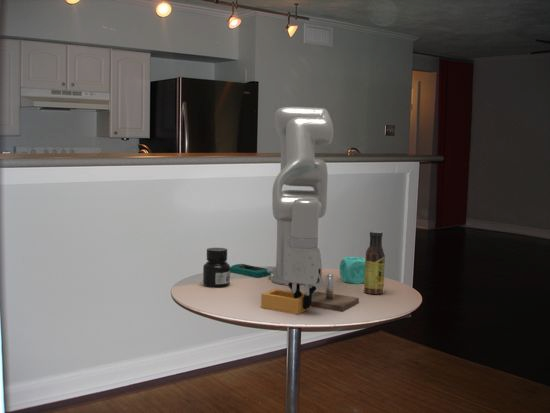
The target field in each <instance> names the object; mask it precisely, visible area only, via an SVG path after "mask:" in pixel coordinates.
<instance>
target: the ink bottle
mask: <svg viewBox="0 0 550 413" xmlns="http://www.w3.org/2000/svg"><path fill="white" fill-rule="evenodd" d="M206 260H207V261H206V263H204V265H203V268H202V269H203V270H202V285H203V286H205V287H209V288H225V287H227V286H229V285H230V284H231V272H230V267H231V266H230V264H229V263H228V248H224V247H208V248H207V249H206Z"/></svg>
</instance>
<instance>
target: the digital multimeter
mask: <svg viewBox="0 0 550 413" xmlns="http://www.w3.org/2000/svg"><path fill="white" fill-rule="evenodd" d="M267 268H268V267H260V266H256V265H255V266H254V265H250V264H244V263H237V264H233V265H231V266H230V273H233V274H237V275H242V276H243V275H244V276H247V277H252V278H256V279H259V278H265V277H269V276H271V275H272V273H267Z"/></svg>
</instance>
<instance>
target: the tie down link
mask: <svg viewBox="0 0 550 413" xmlns="http://www.w3.org/2000/svg"><path fill="white" fill-rule="evenodd" d="M301 293H302V296H301V297H298V298H294V293H292V290H284V289H281V288H280V289H279V288H274V289H271V290H269V291H268V290H267V291H266V292H263V293H261V296H260V297H261V299H260V308H261V309H265V310H266V309H267V310H272V311H277V312H283V313H287V314H288V313H289V314H294V315H299V314H302V313H304V312H306V311H308V310H310V309H311V308H312V306H310V308H307V309H304V308H303V297H304V295H305V293H303V292H301Z"/></svg>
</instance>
